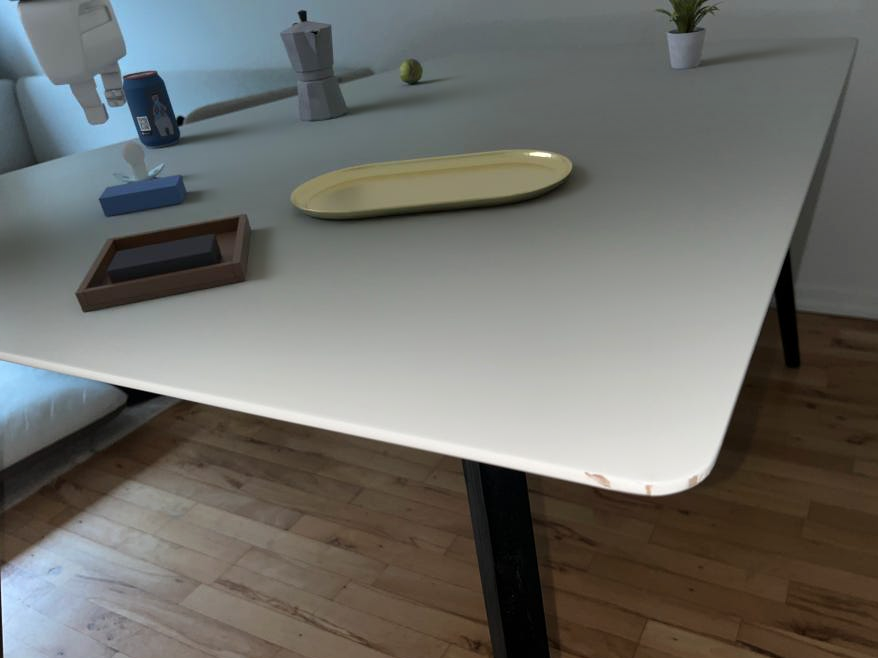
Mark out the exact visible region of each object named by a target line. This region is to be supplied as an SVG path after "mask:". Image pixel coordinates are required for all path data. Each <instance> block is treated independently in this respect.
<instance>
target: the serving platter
mask: <svg viewBox="0 0 878 658" xmlns="http://www.w3.org/2000/svg"><path fill="white" fill-rule="evenodd" d="M573 169H574V168H573V163H572V161H571V160H570V159H569V158H568V157H567V156H565V155H562V154H559V153H556V152H553V151H549V150H548V151H547V150H541V149H540V150H539V149H520V148H519V149H501V150H500V149H499V150H491V151H482V152H481V151H480V152H471V153H470V152H469V153H462V154H452V155H441V156H432V157H431V156H430V157H423V158H413V159H404V160H393V161H383V162H374V163H366V164H360V165H355V166H350V167H345V168H341V169H337V170H334V171H331V172H326V173H324V174H321V175H319V176H316V177H314V178H312V179H309V180H308V181H305V182H303V183H302V184H301V185H299V186H298V187H296V188H295V189H294V190H293V191H292V192H291V195H290V199H289V200H290V203H291V205H292V206H293V207H294V208H295V209H296V210H298V211H300V212H301V213H302V214H305V215H308V216H310V217H314V218H318V219H325V220H357V219H367V218H368V219H369V218H377V217H386V216H387V217H388V216H397V215H399V216H400V215H408V214H420V213H426V212H427V213H430V212H439V211H451V210H462V209H472V208H481V207H482V208H483V207H492V206H502V205H508V204H509V205H510V204H513V203H520V202H523V201H527V200H531V199H534V198H537V197H541V196H542V195H545V194H547V193H550V192H551V191H553V190H555V189H557V188H559V187H560V186H562V184H563V183H564V182H566V180H567V179H568V178H569V177H570V175H571V173H572V171H573Z"/></svg>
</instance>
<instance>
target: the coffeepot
mask: <svg viewBox="0 0 878 658" xmlns="http://www.w3.org/2000/svg"><path fill="white" fill-rule="evenodd" d="M297 15H298V18H299V21H300V22H294V23H292V24H291V26H289V27H288V28H286V29H284V30H281V31H280V32H279V35H280V37H281V41H282V43H283V47H284V49H285V52H286V54H287V56H288V59H289V62H290V64H291V68H292V70H293V72H295V73H296V79H297V83H296V84H297V85H296V86H297V99H298V111H299V114H298V115H299V119H300V120H301V121H304V122H319V121H325V120H331V119H336V118H338V117H341V116H344V115H346V114H347V112H348V106H347V103H346V101H345V98H344V95H343V93H342V89H341V87H340V84H339V82H338V78H337V76H336V75H335V71H334V67H333V66H334V65H335V61H334V47H333V46H334V45H333V33H332V24H331V23H323V22H317V21H310V20H308V11H307V10H304V9H301V10H299V11H297Z"/></svg>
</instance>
